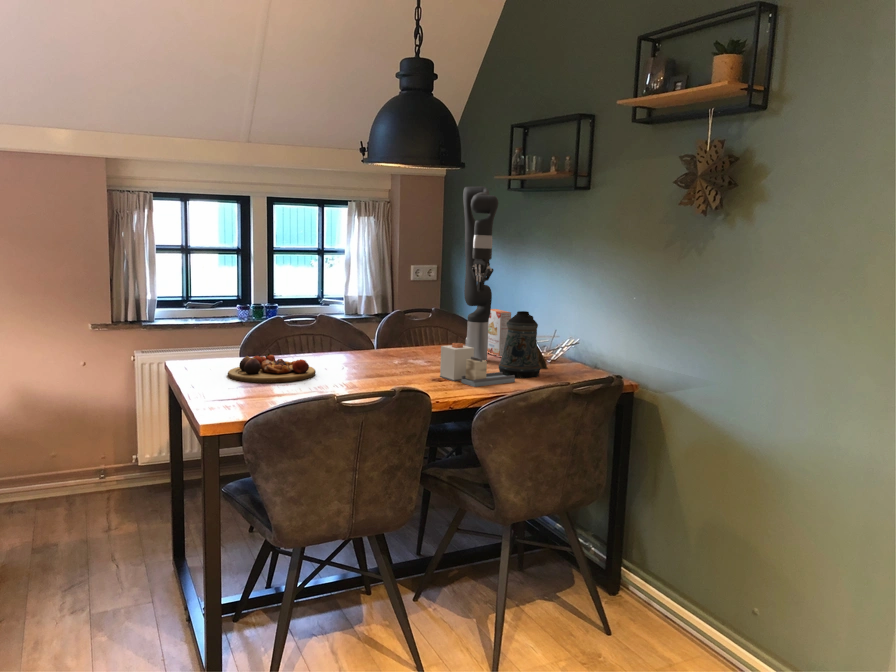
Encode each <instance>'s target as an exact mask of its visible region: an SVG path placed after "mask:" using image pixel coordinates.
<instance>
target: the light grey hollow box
mask: <svg viewBox="0 0 896 672" xmlns="http://www.w3.org/2000/svg"><path fill="white" fill-rule="evenodd" d="M471 357H474V348H472V347H468V346H466V345H464V344H463V348H454V347H452V344H451V345H449V344H448V345H441V346H440V369H439V370H440V371H439V378H442V379H445V380H448V381H452V382H459V381H460V382H461V380H462V376H466V360H467V359H471Z"/></svg>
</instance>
